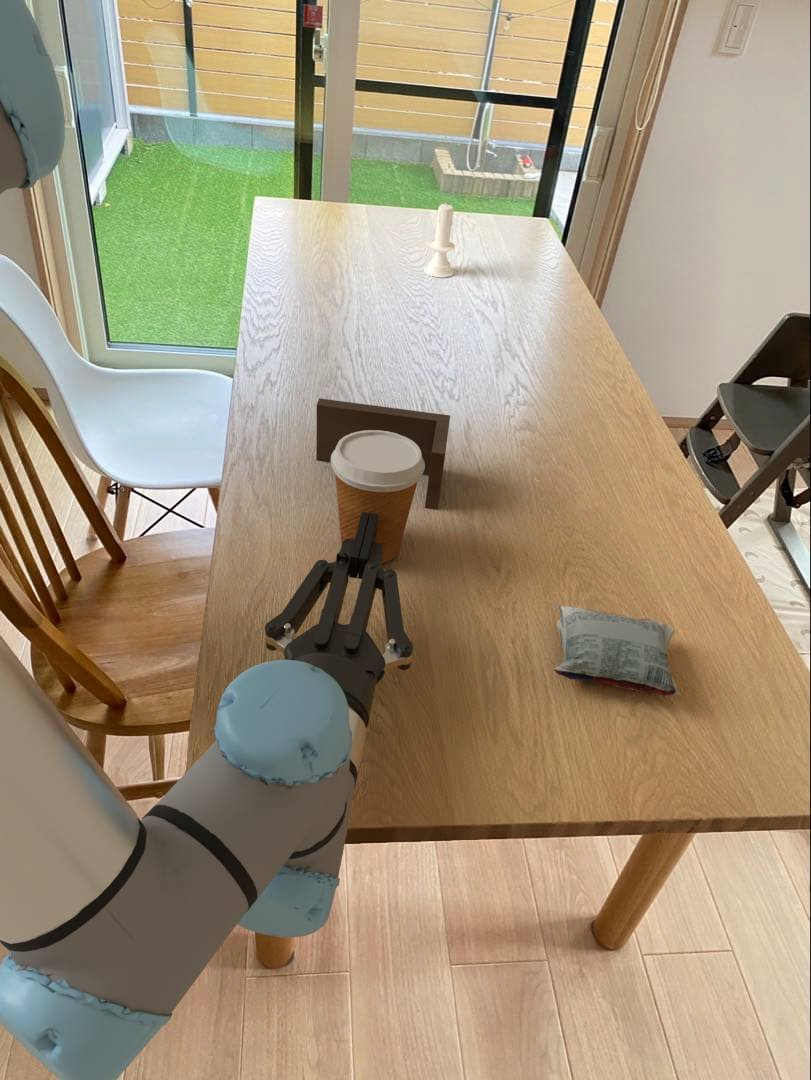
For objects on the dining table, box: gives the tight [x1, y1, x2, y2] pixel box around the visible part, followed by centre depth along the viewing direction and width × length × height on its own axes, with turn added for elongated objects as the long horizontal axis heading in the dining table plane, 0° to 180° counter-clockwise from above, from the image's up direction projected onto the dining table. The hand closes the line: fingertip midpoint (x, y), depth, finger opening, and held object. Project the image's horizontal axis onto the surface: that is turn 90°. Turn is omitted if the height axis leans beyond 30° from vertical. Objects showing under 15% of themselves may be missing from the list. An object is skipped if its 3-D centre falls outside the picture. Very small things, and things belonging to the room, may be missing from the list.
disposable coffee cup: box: [330, 430, 425, 564], centre depth 82 cm, size 10×10×12 cm
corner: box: [315, 397, 451, 510], centre depth 92 cm, size 8×16×8 cm, turn 83°
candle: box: [423, 201, 456, 279], centre depth 136 cm, size 5×5×12 cm
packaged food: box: [553, 601, 681, 697], centre depth 74 cm, size 9×12×5 cm
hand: (369, 523), depth 78 cm, fingers closed
